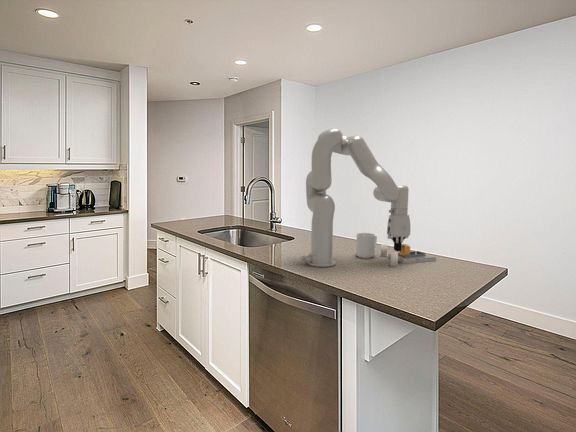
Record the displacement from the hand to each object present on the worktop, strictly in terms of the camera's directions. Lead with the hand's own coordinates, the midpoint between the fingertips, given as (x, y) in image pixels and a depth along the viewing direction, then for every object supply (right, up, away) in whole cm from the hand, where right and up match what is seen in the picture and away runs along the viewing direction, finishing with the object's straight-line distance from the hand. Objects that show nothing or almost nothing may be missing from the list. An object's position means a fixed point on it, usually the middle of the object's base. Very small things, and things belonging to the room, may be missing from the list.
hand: (397, 250), depth 173 cm
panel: (+8, -5, +3) cm, 9 cm away
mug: (-12, -4, +9) cm, 16 cm away
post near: (-4, -6, -9) cm, 12 cm away
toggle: (+4, -2, +2) cm, 5 cm away
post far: (-4, -4, +10) cm, 11 cm away
